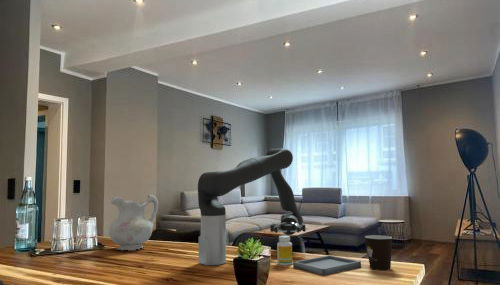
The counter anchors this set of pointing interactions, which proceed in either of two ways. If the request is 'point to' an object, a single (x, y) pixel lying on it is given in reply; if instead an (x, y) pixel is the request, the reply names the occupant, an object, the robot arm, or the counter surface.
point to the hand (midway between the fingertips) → (286, 230)
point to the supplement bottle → (284, 251)
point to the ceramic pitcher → (132, 223)
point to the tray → (326, 264)
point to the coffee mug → (379, 251)
